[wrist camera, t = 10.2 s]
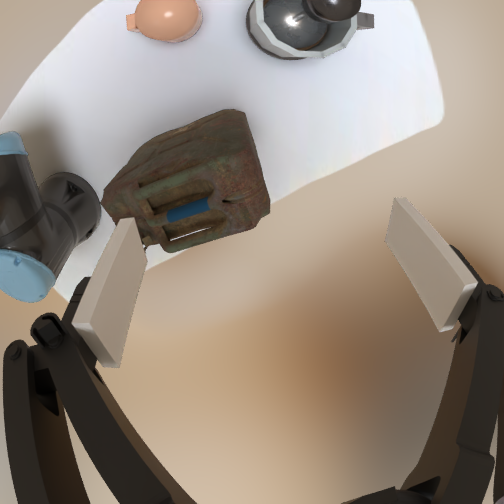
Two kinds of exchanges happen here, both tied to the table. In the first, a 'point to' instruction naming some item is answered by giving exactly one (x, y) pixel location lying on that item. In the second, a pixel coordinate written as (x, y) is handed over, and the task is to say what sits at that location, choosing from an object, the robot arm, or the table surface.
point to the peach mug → (166, 19)
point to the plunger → (306, 18)
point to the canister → (192, 184)
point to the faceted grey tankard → (327, 45)
